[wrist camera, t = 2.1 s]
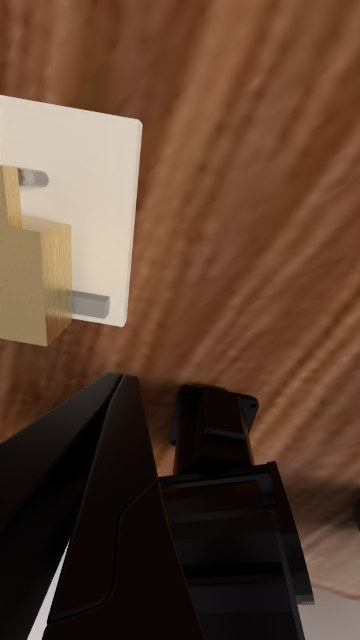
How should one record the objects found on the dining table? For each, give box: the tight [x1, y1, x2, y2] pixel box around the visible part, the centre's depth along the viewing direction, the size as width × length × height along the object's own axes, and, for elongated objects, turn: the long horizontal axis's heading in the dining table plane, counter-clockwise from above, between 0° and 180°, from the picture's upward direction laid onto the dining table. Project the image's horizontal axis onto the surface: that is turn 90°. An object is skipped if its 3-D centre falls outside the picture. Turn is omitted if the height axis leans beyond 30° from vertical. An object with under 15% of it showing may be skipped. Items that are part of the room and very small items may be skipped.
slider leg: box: [0, 165, 72, 346], centre depth 15 cm, size 8×4×4 cm, turn 171°
